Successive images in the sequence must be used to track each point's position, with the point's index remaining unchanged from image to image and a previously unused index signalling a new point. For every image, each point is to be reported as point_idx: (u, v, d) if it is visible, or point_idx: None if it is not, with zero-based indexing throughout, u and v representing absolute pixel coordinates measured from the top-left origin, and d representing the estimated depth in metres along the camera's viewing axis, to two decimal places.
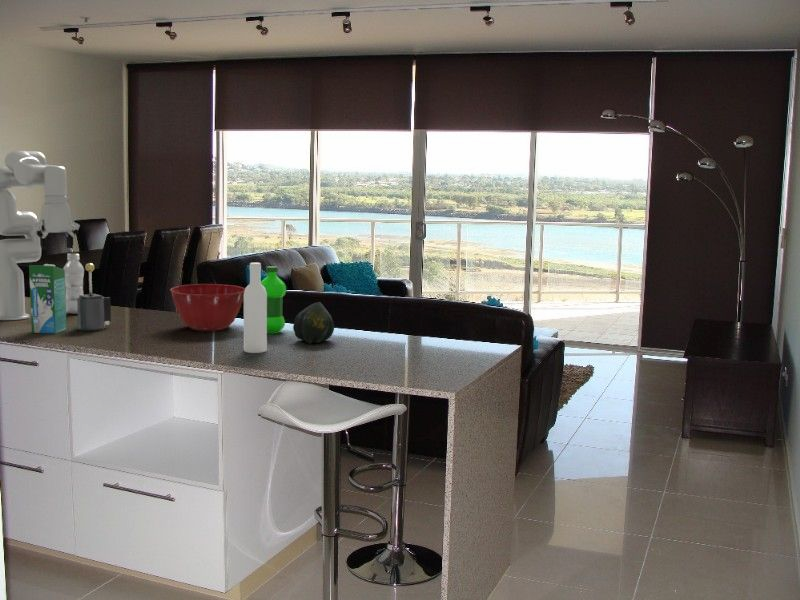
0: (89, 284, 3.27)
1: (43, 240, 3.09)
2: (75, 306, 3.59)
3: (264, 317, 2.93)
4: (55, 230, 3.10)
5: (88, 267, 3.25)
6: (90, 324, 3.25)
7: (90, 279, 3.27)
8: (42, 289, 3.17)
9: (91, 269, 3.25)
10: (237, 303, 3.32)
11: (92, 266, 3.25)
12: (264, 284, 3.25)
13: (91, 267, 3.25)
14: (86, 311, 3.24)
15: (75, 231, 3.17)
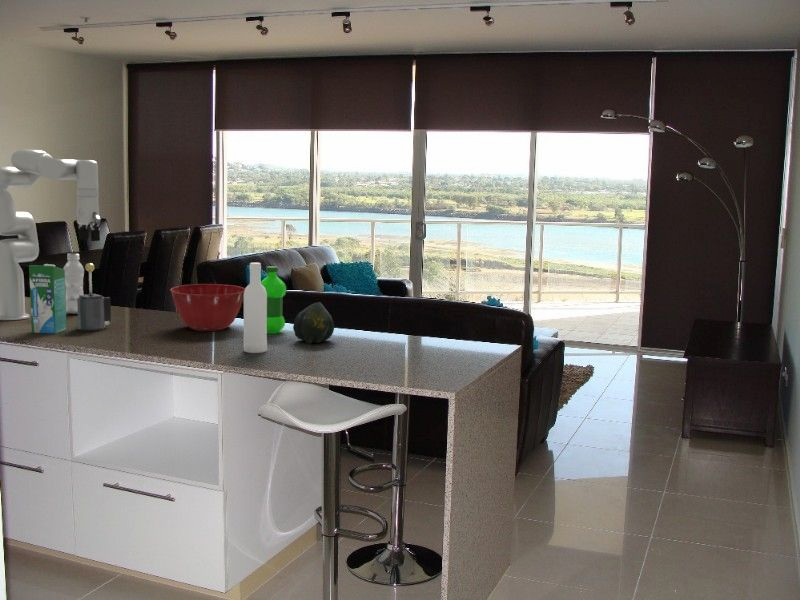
0: (89, 284, 3.27)
1: (98, 232, 3.21)
2: (75, 306, 3.59)
3: (264, 317, 2.93)
4: None
5: (88, 267, 3.25)
6: (90, 324, 3.25)
7: (90, 279, 3.27)
8: (42, 289, 3.17)
9: (91, 269, 3.25)
10: (237, 303, 3.32)
11: (92, 266, 3.25)
12: (264, 284, 3.25)
13: (91, 267, 3.25)
14: (86, 311, 3.24)
15: None
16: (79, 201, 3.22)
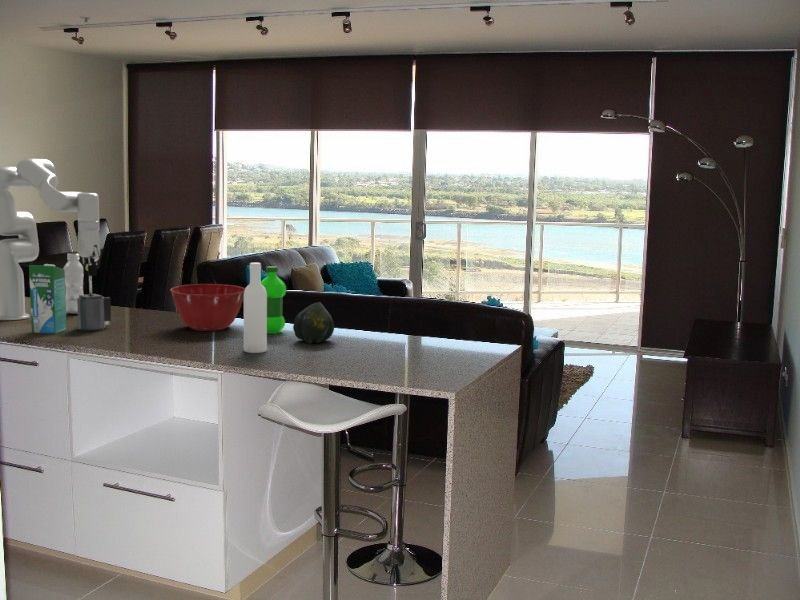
0: (89, 284, 3.27)
1: None
2: (75, 306, 3.59)
3: (264, 317, 2.93)
4: None
5: None
6: (90, 324, 3.25)
7: (90, 279, 3.27)
8: (42, 289, 3.17)
9: None
10: (237, 303, 3.32)
11: None
12: (264, 284, 3.25)
13: None
14: (86, 311, 3.24)
15: None
16: (80, 233, 3.24)
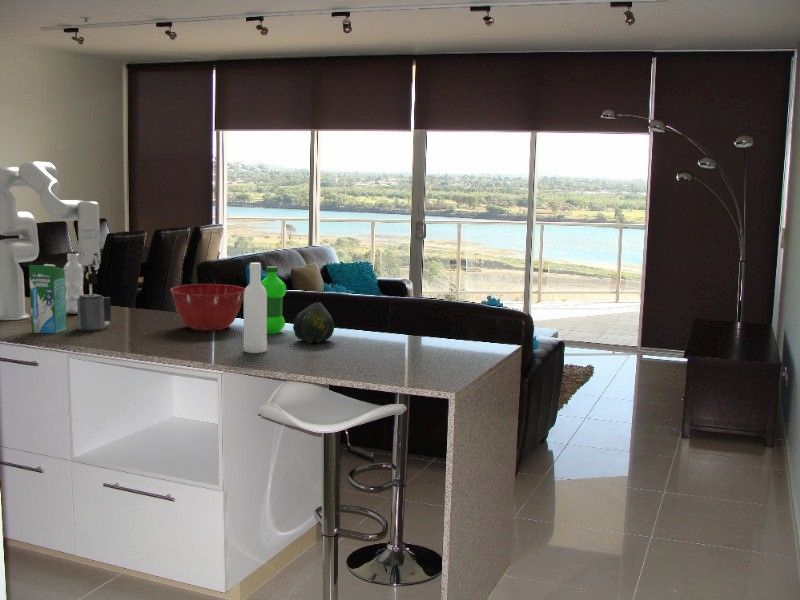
0: (89, 292, 3.27)
1: None
2: (75, 306, 3.59)
3: (264, 317, 2.93)
4: None
5: None
6: (90, 324, 3.25)
7: (90, 287, 3.27)
8: (42, 289, 3.17)
9: None
10: (237, 303, 3.32)
11: None
12: (264, 284, 3.25)
13: None
14: (86, 311, 3.24)
15: None
16: (80, 242, 3.24)
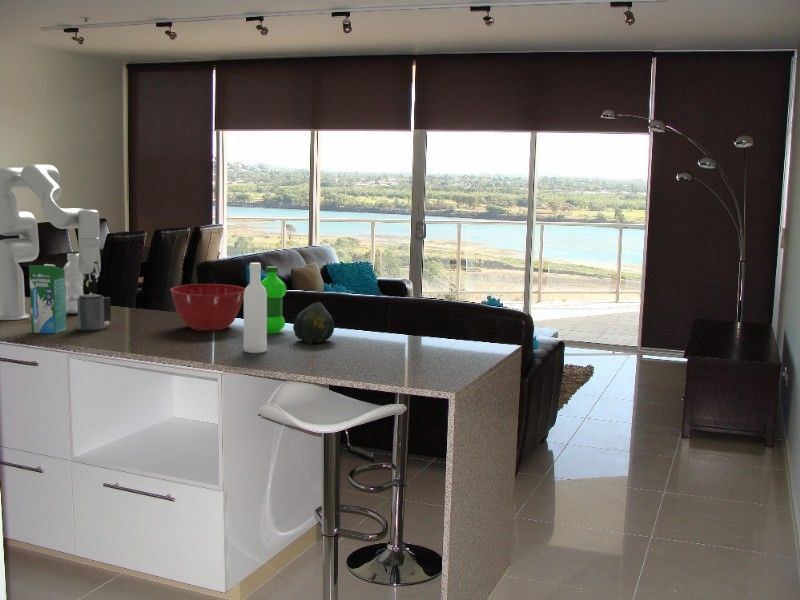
0: None
1: (95, 283, 3.26)
2: (75, 306, 3.59)
3: (264, 317, 2.93)
4: None
5: None
6: (90, 324, 3.25)
7: (90, 295, 3.27)
8: (42, 289, 3.17)
9: None
10: (237, 303, 3.32)
11: None
12: (264, 284, 3.25)
13: None
14: (86, 311, 3.24)
15: None
16: (80, 250, 3.24)
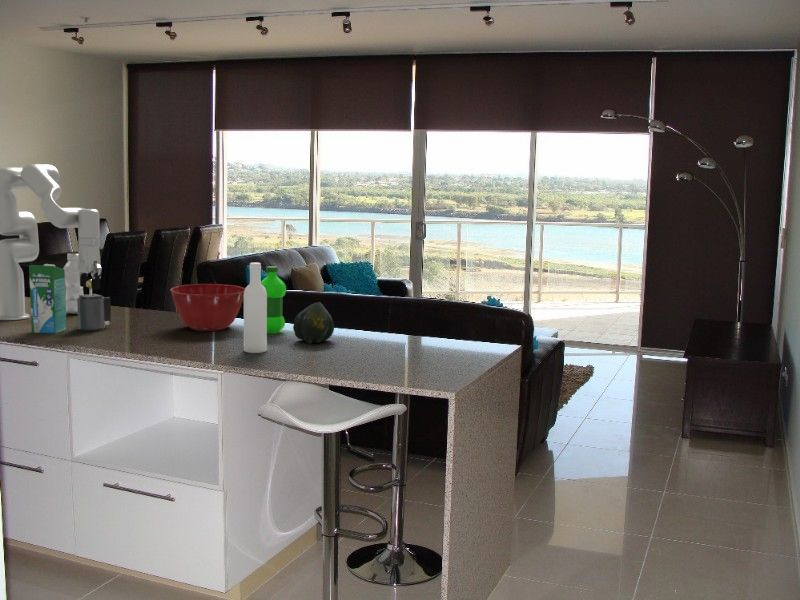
0: None
1: (98, 280, 3.24)
2: (75, 306, 3.59)
3: (264, 317, 2.93)
4: None
5: (88, 284, 3.26)
6: (90, 324, 3.25)
7: (90, 295, 3.27)
8: (42, 289, 3.17)
9: (91, 285, 3.26)
10: (237, 303, 3.32)
11: None
12: (264, 284, 3.25)
13: (91, 284, 3.26)
14: (86, 311, 3.24)
15: None
16: (80, 249, 3.24)
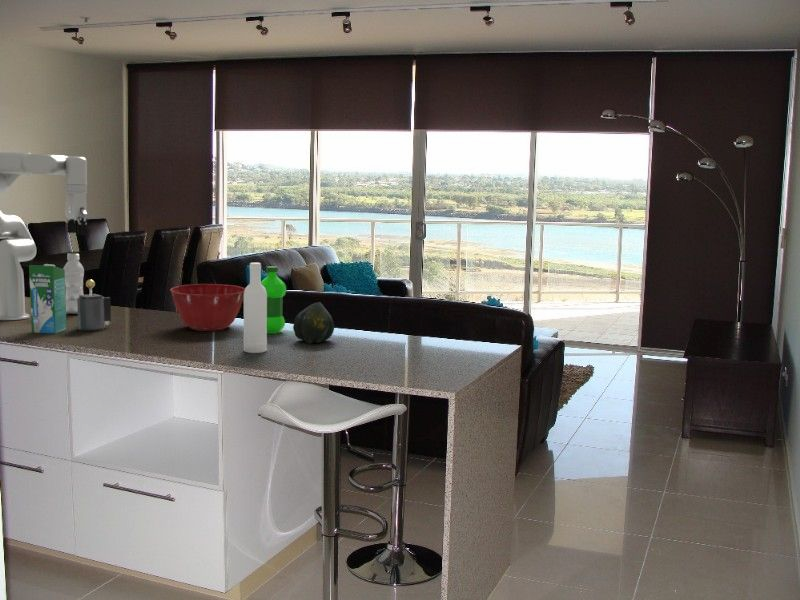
0: None
1: (84, 226, 3.32)
2: (75, 306, 3.59)
3: (264, 317, 2.93)
4: None
5: (88, 284, 3.26)
6: (90, 324, 3.25)
7: (90, 295, 3.27)
8: (42, 289, 3.17)
9: (91, 285, 3.26)
10: (237, 303, 3.32)
11: (92, 282, 3.26)
12: (264, 284, 3.25)
13: (91, 284, 3.26)
14: (86, 311, 3.24)
15: None
16: (68, 196, 3.33)
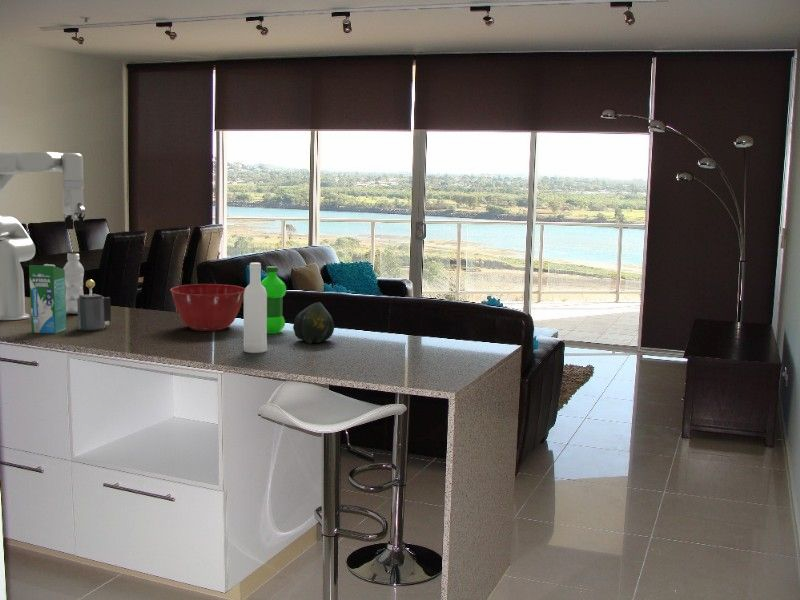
0: None
1: (82, 222, 3.34)
2: (75, 306, 3.59)
3: (264, 317, 2.93)
4: None
5: (88, 284, 3.26)
6: (90, 324, 3.25)
7: (90, 295, 3.27)
8: (42, 289, 3.17)
9: (91, 285, 3.26)
10: (237, 303, 3.32)
11: (92, 282, 3.26)
12: (264, 284, 3.25)
13: (91, 284, 3.26)
14: (86, 311, 3.24)
15: None
16: (65, 192, 3.35)
